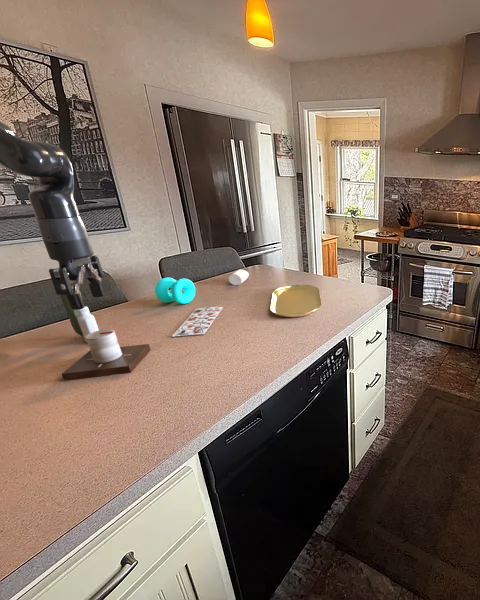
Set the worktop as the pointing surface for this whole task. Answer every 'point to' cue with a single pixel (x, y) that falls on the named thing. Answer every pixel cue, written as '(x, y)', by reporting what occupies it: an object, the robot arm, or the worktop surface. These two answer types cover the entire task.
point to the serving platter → (295, 300)
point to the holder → (107, 364)
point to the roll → (238, 277)
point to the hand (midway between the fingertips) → (89, 302)
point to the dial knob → (104, 345)
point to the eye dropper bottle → (86, 322)
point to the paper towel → (198, 321)
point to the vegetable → (72, 314)
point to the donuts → (175, 290)
